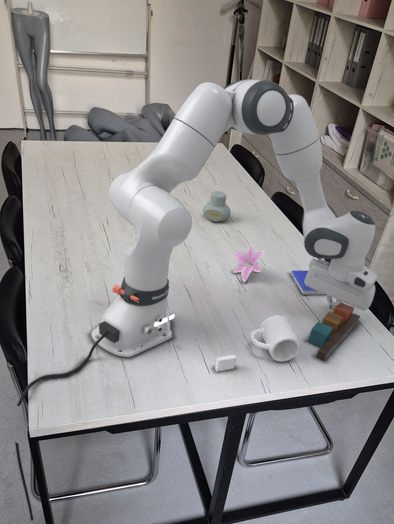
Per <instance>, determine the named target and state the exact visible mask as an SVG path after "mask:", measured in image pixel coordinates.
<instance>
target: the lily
mask: <svg viewBox="0 0 394 524" xmlns="http://www.w3.org/2000/svg"><path fill="white" fill-rule="evenodd" d="M264 254H266V249H259V250H254V245H253V243H251V244H250V245H249V247H248V248H247V250H246V252H244V251H234V253H233V255H234V258H235V260H236V262H237V263H238V265H237V266H236V267H235V268H234V270H233V274H236V273H240V275H241V280H242V282H243V284H244V283H246V282H247V280H248V279H249V277H250V274H251V273H252V272H255V273H257V272H258V273H262V271H263V270H262V268H261V266H260V264H259V260H261V258H262V257H263V256H264Z"/></svg>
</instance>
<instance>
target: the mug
mask: <svg viewBox="0 0 394 524" xmlns="http://www.w3.org/2000/svg"><path fill="white" fill-rule="evenodd" d="M256 335H257V336H258V335H261V336H262V339H263V341H264V342H261V341H259V340H257V339H256V337H255V336H256ZM249 339H250V341H251V343H252V344H253V345H254V346H256V347H258V348H259V349H262V350H267V351H268V352H269V355H270V357H271V358H272V359H273V360H274V361H277V362H287V361H290V360H293V359H294V358H295V357H296V356H298V354H299V353H300V351H301V343H300V341H299V339H298V337H297V335H296V333H295V331H294V329H293V327H292V325H291V324H290V322H289V319H287V318H286V317H285V316H283V315H273V316H270V317H268V318H267V319H265V320H264V321H263V323H262V324H261V326H260V328H257V329H254V330H252V331H251V332H250V334H249Z"/></svg>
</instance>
